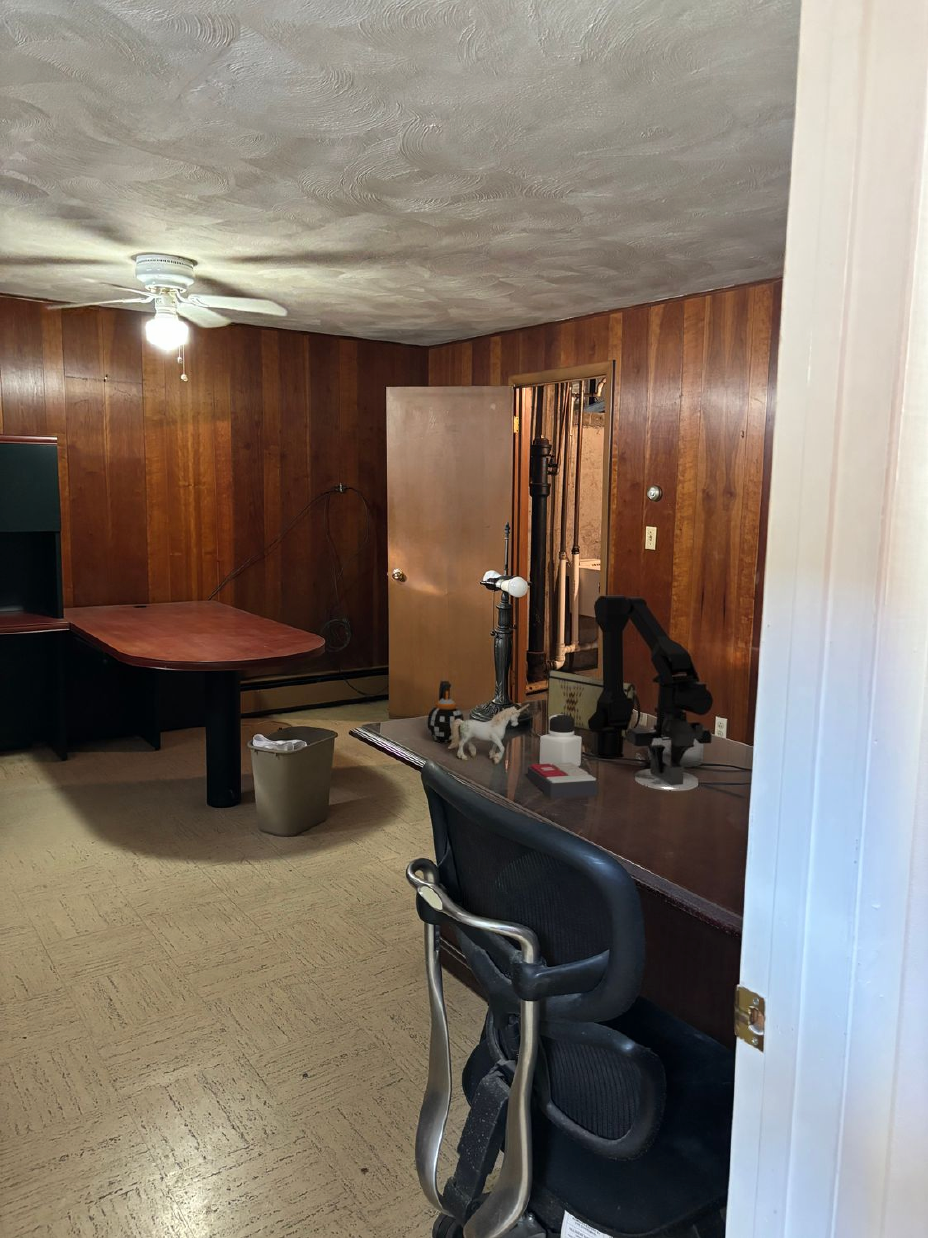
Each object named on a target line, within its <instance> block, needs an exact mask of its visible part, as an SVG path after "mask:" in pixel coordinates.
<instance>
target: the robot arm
mask: <svg viewBox="0 0 928 1238" xmlns="http://www.w3.org/2000/svg"><path fill="white" fill-rule="evenodd" d="M593 605H594V606H593V607H594V608H593V610H594V618H595V622H596V624H597V626H598V627H599V629H600V630H601V634H602V640H601V641H602V679H603V691H602V693H601V695H600V697H599V699H598V700H597V707H596V712H595V713H594V714H593V715H592V717H591V718H590V719H589V720H588V726H589V729H590V730H589V731H592V732H593V739H592V740H593V742H592V743H593V746H592V748H590V749H589V750H590V752H591V753H593V754H594V755H595V756H597V757H598V758H600V759H601V758H602V759H603V758H615V757H616V758H619V757H620V758H621V757H624V756H625V754H624V753H623V752H624V739H625V741H627V742H628V743H629V744H631V745H633V746H634V747H647V749H649V750H650V752H651V754H652V757H653V760H654V762H655V765H656V768H657V771H658V773H660V774H661V773H662V766H663V751H664V749H665V746H663V745H662V740H671V759H672V760H674V761H675V762H677V763H678V764H679V763H680V761H681V759H682V757H683V755H684V753H685V752H686V751H687V750H688V749H689V748H691V747H694V744H693V743H694V740H695V739H696V740H697V741H698V742H699V743H700V744H703V745H704V744H712V741H713V735H712V732H711V730H709V729H707V728H705V727H704V725H703V723H702V722H700V721H696V722H694V721H693V722H688V719H687V712H688V713H692V714H694V715H698V716H704V715H705V716H706V714H707V713H709V712H710V711H711V709H712V707H713V703H714V698H713V696H712V694H711V692H710V690H708V689H707V683H705V682H700V678H699V675H698V672H697V670H696V668H695V665H694V662H693V661H692V656H691V654H690V653H689V651H688V650H687V649H685V647H684V646H683V645H681V644H680V643H678V642H676V641H675V640H673V639H671V637H669V635H668V634H667V632H665V629H664V628H663V627H662V626H661V624H660V623H659V621H658V619H656V617H655V615H654V614H653V613H652V611H651V609H649V607H648V605H647V601H646V599H645V598H642V597H626V596H625V595H622V594H620V595H619V594H615V595H600V596H598V597H597V599H596V600H595V602H594V604H593ZM630 621H631V622H632V624H633V626H634V627H635V628H636V629H635V630H637V631H638V634H639V635H640V636H641V638H642V639H643V640H644V642H645V643H646V645H647V647H648V648H649V650H650V661H651V663H652V664H653V667H654V668H655V671H656V673H657V675H656V676H655V677H653V678H652V682H653V683H656V684H658V689H657V690H658V693H657V706H655V707H654V712H655V713H656V722H655V723H656V724H653V727H654V730H656V732H649V731H650V730H648V729H645V728H644V727H636V728H633V727H631V728H629V729H628V726H629V723H630V721H631V722H632V719H631V718H633V717H632V716H633V715H634V711H632V702H633V701H632V698H628V697H627V695H626V693H625V692H624V683H625V682H624V679H625V678H624V630H625V629H626V627H627V625H628V623H629V622H630ZM627 729H628V730H627ZM622 730H627V732H626V738H624V737H623V736H622ZM662 735H663V736H662Z"/></svg>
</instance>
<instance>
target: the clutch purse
mask: <svg viewBox="0 0 928 1238" xmlns="http://www.w3.org/2000/svg"><path fill="white" fill-rule="evenodd" d="M546 675H547V676H546V682H545V685H547V688H545V692H546V695H547V700H546V703H547V704H546V717H547V719H546V720H547V722H548V723H549V718H550V717H551V716H553V715H558V714H562V715H569V716H571V717H573V718H574V719H575V725H574V728H579V729H584V730H589V731H591V730H590V729H589V726H588V720H589V719H590V718H591V717H592V715H593V714H594V713H595V712H596V707H597V700H598V699H599V697H600V695H601V693H602V691H603V678H598V677H592V676H586V675H580V674H574V673H570V672H563V671H559V670H558V671H557V670H551V669H549V670H548V671H547V674H546ZM624 692H625V693H626V695H627V697H628V698H632V701H633V702H632V711H633V710H634V708H635V703H636V707H637V708H636V709H637V717H636V719H637V720H636V722H635V724H634V726H633V727H632V720H633V719H632V718H633V717H632V718H631V721H630V723H629V726H628V729H629V728H638V727H637V726H638V725H639V723H640V720H641V715H642V714H641V704H640V699H639V697H638V695H637V691H636V689H635V685H634V684H633V683H626V682H624ZM633 712H634V711H633ZM628 729H627V730H628ZM627 730H622V736H623V737H624V739H626V732H627Z"/></svg>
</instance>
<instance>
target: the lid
mask: <svg viewBox="0 0 928 1238" xmlns="http://www.w3.org/2000/svg"><path fill="white" fill-rule="evenodd" d="M634 780H635V781H636V782H637V783H638V784H639V785H642V786H644V785H645V787H647V786H648V788H650V789H655V790H662V791H669V790H671V791H673V792H674V791H675V792H676V791H677V792H678V791H679V792H680V791H689V790H692V789H695V788H697V787H698V785H699V779H698V778H697V777H696V776H694V775H693V774H691V773H689V772H685V767H683V766H682V765H680V764H678V763H677V762H675V761H674V760H672V759H670V758H669V757H667V756H665V755H664V754H663V766H662V773H661V774H660V773H658V771H657V768H656V765H655V762H654V760H653V757H652V755H651V761H650V768H647V769H646V768H645V769H642V770H638V771H637V772H636V773H634Z"/></svg>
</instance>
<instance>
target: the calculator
mask: <svg viewBox="0 0 928 1238" xmlns="http://www.w3.org/2000/svg"><path fill="white" fill-rule="evenodd" d="M527 779H528V780H529V781H530V783H532V784H533V785H534V786H535V787H536V788H538V789H540V791H542V793H543V794H544V795H545V796H546V797H547V798H549V799H550V800H560V799H561V800H562V799H574V798H575V799H576V798H577V799H578V798H590V797H598V796H599V780H598V779H597V778H596V777H594V776H593V775H591V774H589V772H587V771H586V770H584V769H583V768H581V767H580V766H576V765H575V764H573V763H571V762H569V763H553V764H552V765H551V764H538V763H537V764H536V763H535V764H530V766H528V767H527Z"/></svg>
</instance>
